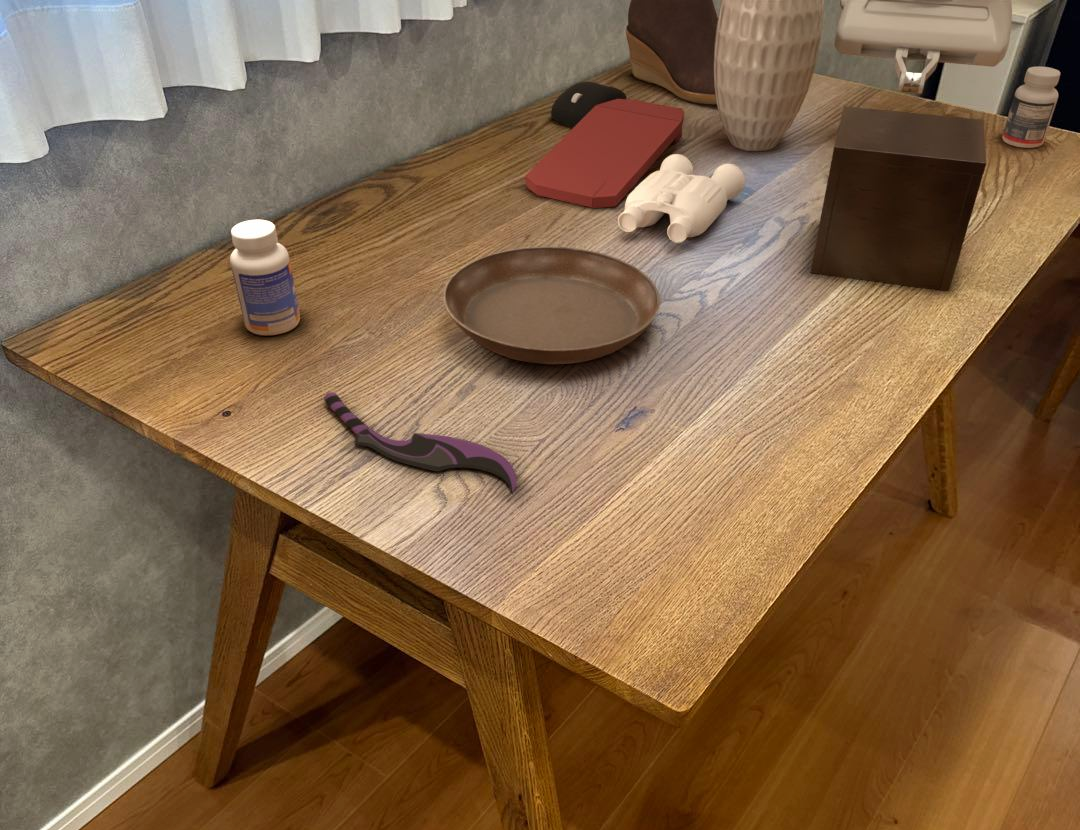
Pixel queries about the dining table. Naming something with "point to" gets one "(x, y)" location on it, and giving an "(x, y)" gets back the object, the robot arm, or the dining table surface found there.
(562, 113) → the computer mouse
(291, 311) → the pill bottle
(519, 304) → the plant saucer
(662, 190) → the binoculars
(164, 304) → the dining table surface
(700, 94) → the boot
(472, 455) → the knife
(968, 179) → the dark wooden box
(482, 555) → the dining table surface
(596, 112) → the carton
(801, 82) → the vase
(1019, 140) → the pill bottle
